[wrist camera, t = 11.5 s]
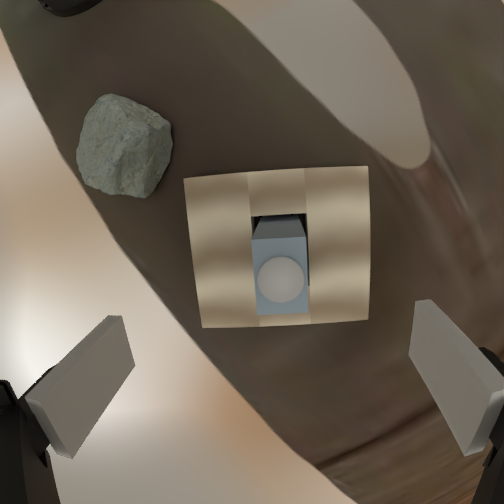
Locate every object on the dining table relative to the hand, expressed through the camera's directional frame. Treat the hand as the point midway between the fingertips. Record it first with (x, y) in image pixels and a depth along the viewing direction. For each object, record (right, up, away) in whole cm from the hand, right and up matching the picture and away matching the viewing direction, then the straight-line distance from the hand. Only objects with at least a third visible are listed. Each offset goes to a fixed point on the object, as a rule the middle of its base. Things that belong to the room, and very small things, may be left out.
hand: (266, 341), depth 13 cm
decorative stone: (-14, +16, +21) cm, 31 cm away
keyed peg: (+3, +5, +23) cm, 23 cm away
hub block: (+3, +5, +23) cm, 23 cm away
